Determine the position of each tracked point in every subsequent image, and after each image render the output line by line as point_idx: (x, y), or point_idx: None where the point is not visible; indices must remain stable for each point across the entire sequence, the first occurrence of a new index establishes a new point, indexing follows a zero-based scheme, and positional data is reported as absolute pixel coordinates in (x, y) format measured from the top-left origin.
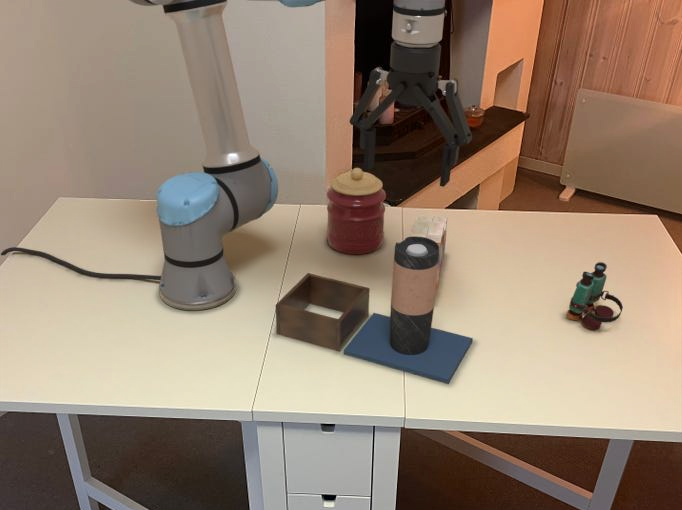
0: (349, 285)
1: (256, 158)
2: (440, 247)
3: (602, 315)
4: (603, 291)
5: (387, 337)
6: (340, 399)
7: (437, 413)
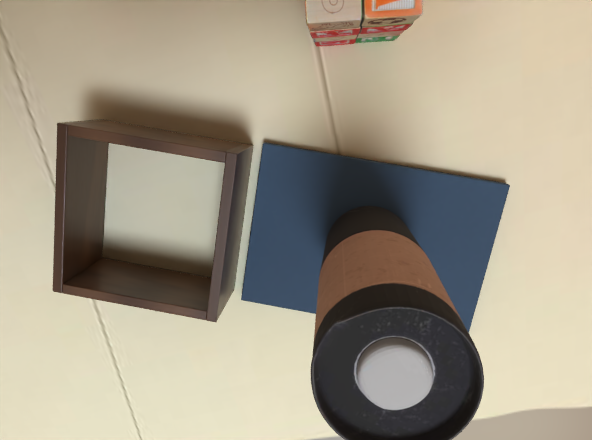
0: (182, 154)
1: None
2: None
3: None
4: None
5: (317, 234)
6: (277, 417)
7: None
